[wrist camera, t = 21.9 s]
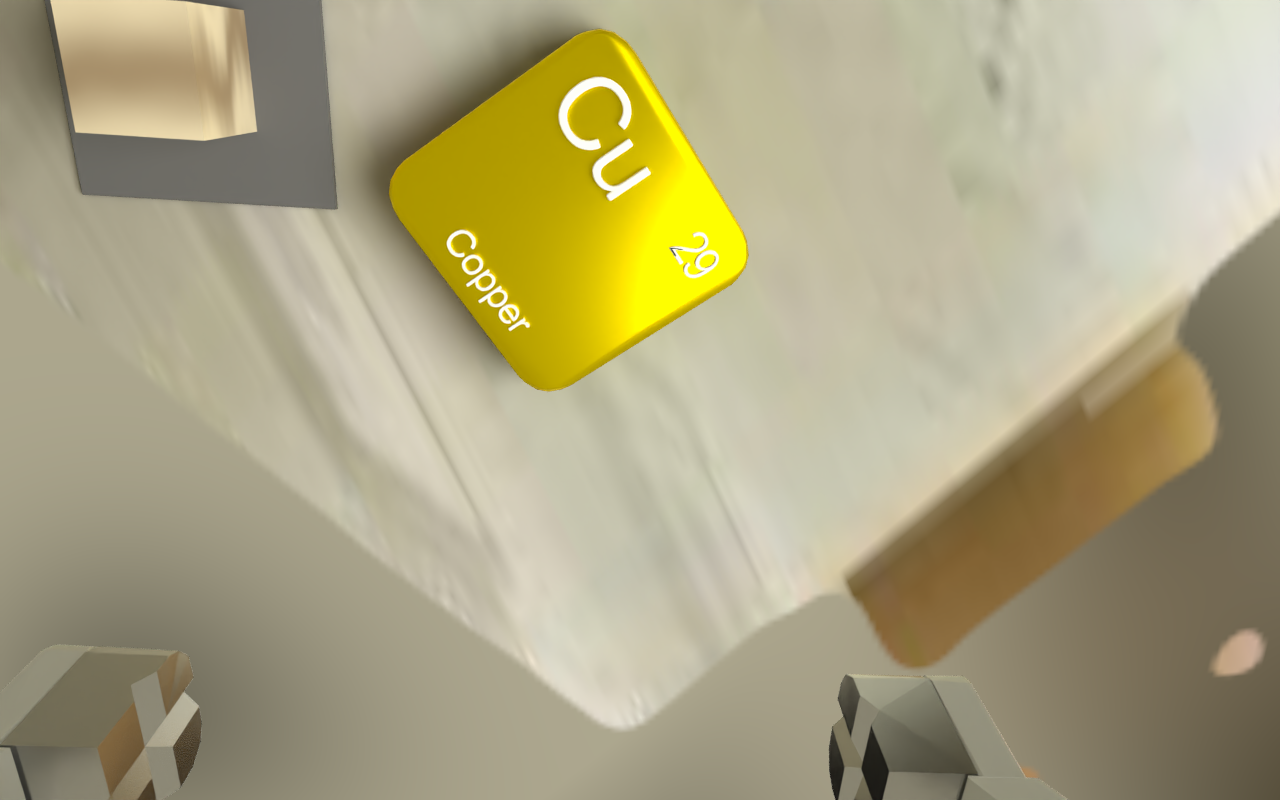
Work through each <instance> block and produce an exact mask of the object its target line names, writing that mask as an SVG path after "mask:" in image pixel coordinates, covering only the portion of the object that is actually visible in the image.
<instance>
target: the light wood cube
mask: <svg viewBox="0 0 1280 800" xmlns="http://www.w3.org/2000/svg"><path fill="white" fill-rule="evenodd" d="M50 1H51V6H52V11H53V16H54V22H55V27H56V32H57V38H58V43H59V48H60V53H61V59H62V64H63V69H64V74H65V80H66V85H67V90H68V96H69V101H70V106H71V111H72V117H73V122H74V127H75V132H78V133H93V134H108V135H124V136H139V137H154V138H169V139H185V140H200V141H206V140H212V139H218V138H223V137H229V136H235V135H241V134H246V133H252V132H257V126H256V117H255V108H254V98H253V89H252V80H251V71H250V62H249V52H248V43H247V34H246V25H245V15H244V10H239V9H233V8H226V7H220V6H213V5H206V4H200V3H193V2H187V1H174V0H50Z"/></svg>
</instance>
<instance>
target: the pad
mask: <svg viewBox="0 0 1280 800" xmlns="http://www.w3.org/2000/svg"><path fill="white" fill-rule="evenodd" d="M174 1H187V2H193V3H200V4H206V5H213V6H220V7H226V8H233V9H239V10H244V15H245V25H246V34H247V43H248V52H249V62H250V71H251V80H252V89H253V98H254V108H255V117H256V126H257V132H252V133H246V134H241V135H235V136H229V137H223V138H218V139H212V140H206V141H200V140H185V139H169V138H154V137H139V136H124V135H108V134H93V133H78V132H75V127H74V122H73V117H72V111H71V106H70V101H69V96H68V90H67V85H66V80H65V74H64V69H63V64H62V59H61V53H60V48H59V43H58V38H57V32H56V27H55V22H54V16H53V11H52V6H51V1H50V0H45V5H46V10H47V16H48V21H49V26H50V31H51V36H52V41H53V46H54V51H55V57H56V62H57V67H58V72H59V77H60V82H61V87H62V93H63V98H64V103H65V108H66V113H67V118H68V123H69V128H70V134H71V139H72V144H73V149H74V154H75V159H76V164H77V170H78V175H79V180H80V185H81V190H82V194H83V195H100V196H117V197H134V198H151V199H167V200H184V201H201V202H218V203H235V204H252V205H268V206H285V207H302V208H319V209H338V208H337V195H336V183H335V170H334V157H333V144H332V131H331V119H330V106H329V93H328V80H327V68H326V55H325V42H324V29H323V16H322V4H321V0H174Z"/></svg>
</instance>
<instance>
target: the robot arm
mask: <svg viewBox="0 0 1280 800" xmlns="http://www.w3.org/2000/svg"><path fill="white" fill-rule="evenodd" d="M193 678H194V677H193V672H192V668H191V664H190V660H189V656H188V655H186V654H184V653H182V652H180V651H173V650H157V649H139V648H122V647H105V646H98V647H91V646H74V645H54V646H52V647H49V648H46V649H44V650H42V651H41V652H40V653H39V654H38V655H37V656H36V657H35V658H34V659H33V660H32V661H31V662H30V663H29V664H28V665H27V666H26V667H25V668H24V669H23V670H22V671H21V672H20V673H19V674H18V675H17V676H16V677H15V678H14V679H13V680H11V681H10V683H8V685H6V686H5V687H4V688H3V690H2V691H0V800H163V799H165V798H166V797H168V796H169V795H171V794H172V793H173V792H175V791H177V790H178V789H180V788H181V786H182V784H183V783H184V781H185V780H186V778H187V776H188V774H189V773H190V771H191V769H192V768H193V765H194V762H195V759H196V755H197V752H198V749H199V746H200V742H201V727H202V721H201V715H200V709H199V706H198V705H197V704H196V703H195V702H194V701H193V700H192V699H191V698H190V697H189V696H188V695H187V694H186V693H185V692H184V691H185V689H186V687H187V686H188V685H189V684H190V682H191V681H192V679H193ZM838 701H839V704H840V707H841V710H842V713H843V717H842V718H841V719H840V720H839V721H838V722H837V723H836V724H835V725H834V726H832V732H831V738H830V745H829V772H830V778H831V784H832V790H833V793H834V797H835V800H1068V799H1067V798H1065V797H1064V796H1062V795H1061V794H1060V793H1058V792H1057V791H1056V790H1054V789H1052V788H1051V787H1050V786H1048V785H1047V784H1046V783H1044V782H1043V781H1042V780H1040V779H1039V778H1026V776H1025V775H1024V773H1023V771H1022V769H1021V768H1020V766H1019V764H1018V763H1017V761H1016V759H1015V757H1014V756H1013V754H1012V752H1011V751H1010V749H1009V747H1008V745H1007V744H1006V742H1005V740H1004V739H1003V737H1002V735H1001V733H1000V732H999V730H998V728H997V727H996V725H995V723H994V721H993V720H992V718H991V716H990V715H989V713H988V711H987V709H986V708H985V706H984V704H983V702H982V701H981V699H980V697H979V696H978V694H977V692H976V691H975V689H974V687H973V685H972V684H971V682H970V681H969V680H968V679H966V678H965V677H963V676H923V677H921V676H891V675H857V674H846V675H845V677H844V679H843V680H842V682H841V686H840V691H839V696H838Z"/></svg>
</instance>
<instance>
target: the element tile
mask: <svg viewBox="0 0 1280 800" xmlns="http://www.w3.org/2000/svg"><path fill="white" fill-rule="evenodd" d="M389 196H390V200H391V203H392V206H393V209H394V211H395V213H396V214H397V216H398V218H399V220H400V221H401V222H402V224H403V225H404V226H405V228H406V229H407V230H408V232H409V233H410V234H411V235H412V237H413V238H414V239H415V241H416V242H417V243H418V245H419V246H420V247H421V249H422V250H423V251H424V253H425V254H426V255H427V256H428V258H429V259H430V260H431V262H432V263H433V264H434V266H435V267H436V268H437V270H438V271H439V272H440V274H441V275H442V276H443V277H444V279H445V280H446V281H447V283H448V284H449V285H450V287H451V288H452V289H453V291H454V292H455V293H456V295H457V296H458V297H459V298H460V300H461V301H462V302H463V304H464V305H465V306H466V308H467V309H468V310H469V312H470V313H471V314H472V316H473V317H474V318H475V320H476V321H477V322H478V323H479V325H480V326H481V327H482V329H483V330H484V331H485V333H486V334H487V335H488V337H489V338H490V339H491V341H492V342H493V343H494V344H495V346H496V347H497V348H498V350H499V351H500V352H501V354H502V355H503V356H504V358H505V359H506V360H507V362H508V363H509V364H510V365H511V367H512V368H513V369H514V371H515V372H516V373H517V375H518V376H519V377H520V378H521V379H522V380H523V381H524V382H525V383H527V384H529V385H530V386H532V387H534V388H535V389H537V390H543V391H548V392H549V391H555V390H561V389H563V388H566V387H568V386H570V385H572V384H574V383H575V382H577V381H578V380H580V379H581V378H583V377H585V376H586V375H588V374H589V373H591V372H593V371H594V370H596V369H597V368H599V367H601V366H602V365H604V364H605V363H607V362H609V361H610V360H612V359H613V358H615V357H617V356H618V355H620V354H621V353H623V352H625V351H626V350H628V349H629V348H631V347H633V346H634V345H636V344H637V343H639V342H641V341H642V340H644V339H645V338H647V337H649V336H650V335H652V334H653V333H655V332H657V331H658V330H660V329H661V328H663V327H665V326H666V325H668V324H669V323H671V322H673V321H674V320H676V319H677V318H679V317H681V316H682V315H684V314H685V313H687V312H689V311H690V310H692V309H693V308H695V307H697V306H698V305H700V304H701V303H703V302H704V301H706V300H708V299H709V298H711V297H712V296H714V295H716V294H717V293H719V292H720V291H722V290H724V289H725V288H727V287H728V286H730V285H732V284H733V283H734V282H735V281H736V280H737V279H738V277H739V276H740V275H741V273H742V272H743V270H744V269H745V268H746V264H747V260H748V256H749V253H748V245H747V240H746V238H745V235H744V232H743V230H742V229H741V227H740V225H739V224H738V222H737V220H736V219H735V217H734V215H733V214H732V212H731V210H730V209H729V207H728V205H727V204H726V202H725V200H724V199H723V197H722V195H721V194H720V192H719V190H718V189H717V187H716V185H715V184H714V182H713V180H712V179H711V177H710V175H709V174H708V172H707V171H706V169H705V167H704V166H703V164H702V162H701V161H700V159H699V157H698V156H697V154H696V152H695V151H694V149H693V147H692V146H691V144H690V142H689V141H688V139H687V137H686V136H685V134H684V132H683V131H682V129H681V127H680V126H679V124H678V122H677V121H676V119H675V117H674V116H673V114H672V112H671V111H670V109H669V107H668V106H667V104H666V102H665V101H664V99H663V97H662V96H661V94H660V92H659V91H658V89H657V87H656V86H655V84H654V82H653V81H652V79H651V77H650V76H649V74H648V72H647V71H646V69H645V67H644V66H643V64H642V62H641V61H640V59H639V57H638V56H637V54H636V52H635V51H634V50H633V49H632V47H631V46H630V45H629V44H628V42H627V41H626V40H624V39H623V38H621V37H620V36H619V35H617V34H616V33H615V32H612V31H607V30H603V29H596V30H591V31H585V32H583V33H580V34H578V35H576V36H574V37H573V38H572V39H570V40H569V41H568V42H566V43H565V44H563V45H562V46H561V47H559V48H558V49H557V50H555V51H554V52H552V53H551V54H550V55H548V56H547V57H546V58H544V59H543V60H541V61H540V62H539V63H537V64H536V65H535V66H533V67H532V68H530V69H529V70H528V71H526V72H525V73H523V74H522V75H521V76H519V77H518V78H517V79H515V80H514V81H512V82H511V83H510V84H508V85H507V86H506V87H504V88H503V89H501V90H500V91H499V92H497V93H496V94H495V95H493V96H492V97H490V98H489V99H488V100H486V101H485V102H484V103H482V104H481V105H479V106H478V107H477V108H475V109H474V110H473V111H471V112H470V113H468V114H467V115H466V116H464V117H463V118H462V119H460V120H459V121H457V122H456V123H455V124H453V125H452V126H451V127H449V128H448V129H446V130H445V131H444V132H442V133H441V134H440V135H438V136H437V137H435V138H434V139H433V140H431V141H430V142H429V143H427V144H426V145H424V146H423V147H422V148H420V149H419V150H418V151H416V152H415V153H413V154H412V155H411V156H409V157H408V158H407V159H405V160H404V161H403V162H402V163H401V164H400V165H399V166H398V167H397V169H396V171H395V172H394V174H393V176H392V178H391V180H390V188H389Z"/></svg>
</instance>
